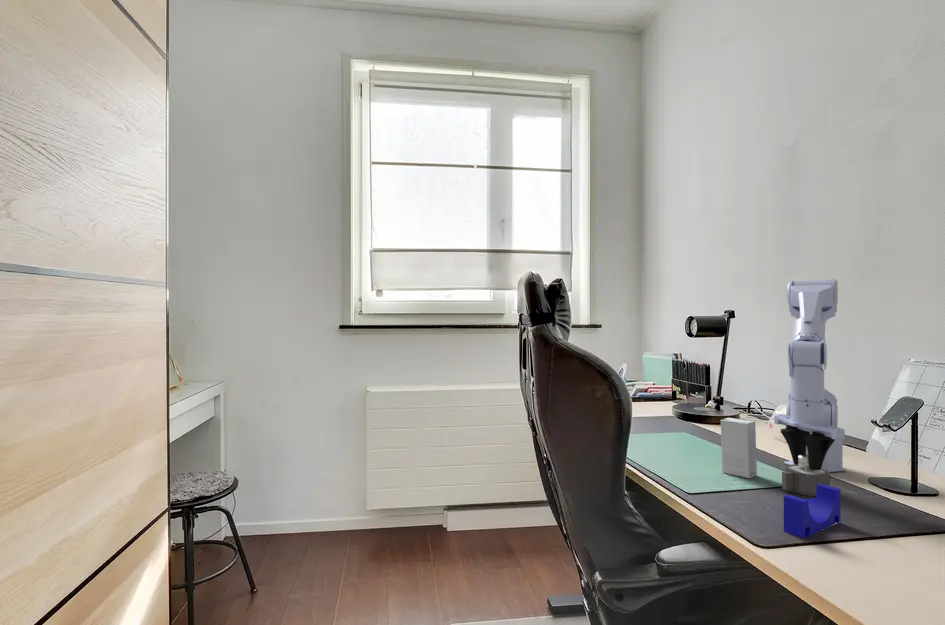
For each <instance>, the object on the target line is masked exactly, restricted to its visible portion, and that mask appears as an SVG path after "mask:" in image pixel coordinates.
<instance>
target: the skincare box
mask: <svg viewBox="0 0 945 625" xmlns="http://www.w3.org/2000/svg"><path fill="white" fill-rule="evenodd" d="M756 433H757V431H756V421H753V420H748V419H747V420H746V419H739V418H734V417H733V418H732V417H726V418H722V419H720V437H721V438H720V441H721V444H720V445H721V470H722V471H721V472H722V473H725V474H728V475H732V476H737V477H740V476H741V478H744V479H745V478H746V479H752V478H754V476H755V477H756V476H757V475H758V470H757V468H758V467H757V465H758V464H757V462H758V461H757V437H756V435H757V434H756Z"/></svg>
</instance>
